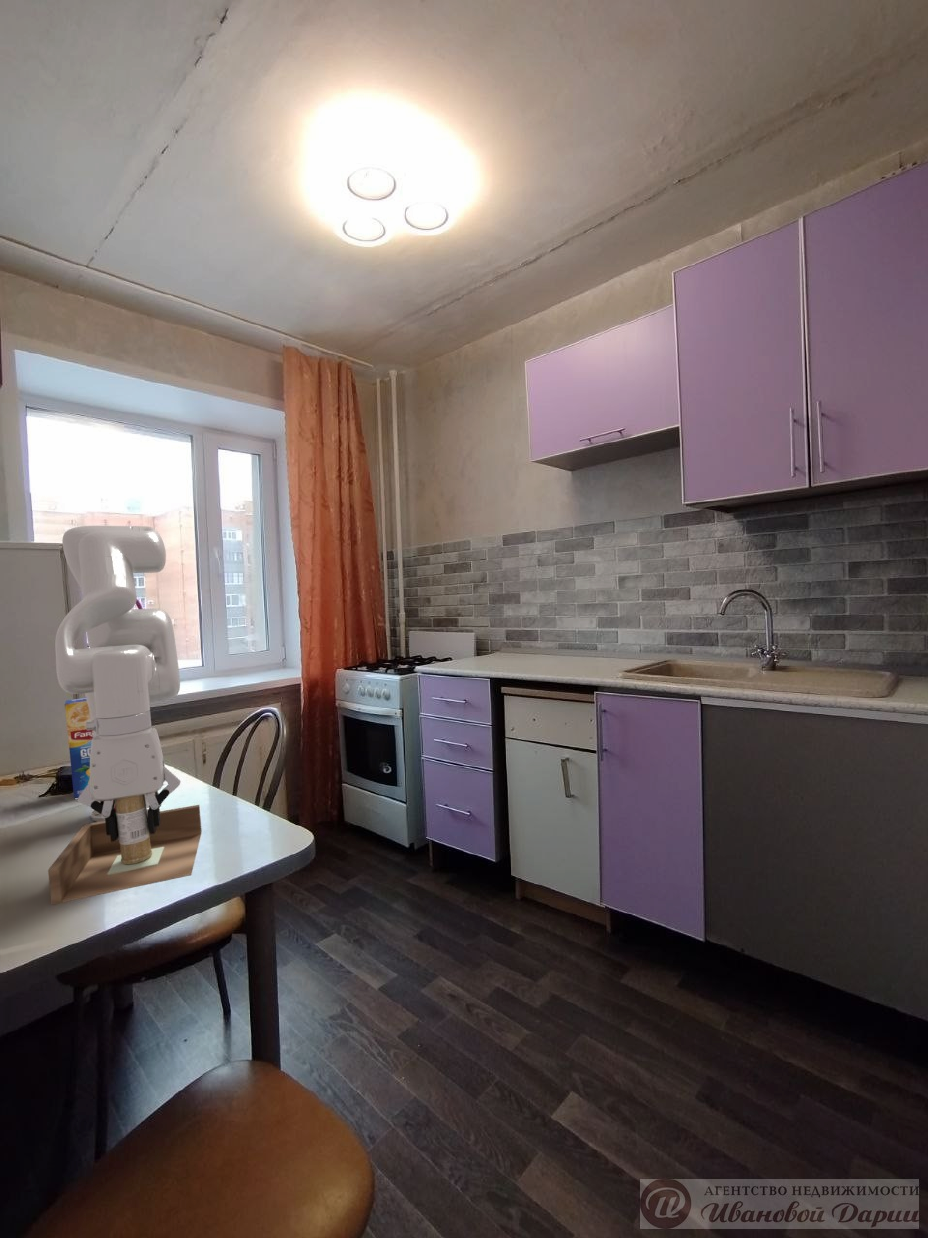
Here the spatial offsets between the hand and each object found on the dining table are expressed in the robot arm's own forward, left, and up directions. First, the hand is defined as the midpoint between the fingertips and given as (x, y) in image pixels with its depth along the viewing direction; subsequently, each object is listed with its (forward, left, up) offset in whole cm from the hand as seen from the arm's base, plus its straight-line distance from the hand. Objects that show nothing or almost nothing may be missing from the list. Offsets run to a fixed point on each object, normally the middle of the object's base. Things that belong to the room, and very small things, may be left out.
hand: (134, 833), depth 93 cm
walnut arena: (+1, 0, -5) cm, 5 cm away
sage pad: (0, 0, -4) cm, 4 cm away
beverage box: (-50, -16, -5) cm, 53 cm away
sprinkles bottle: (0, 0, -4) cm, 4 cm away
